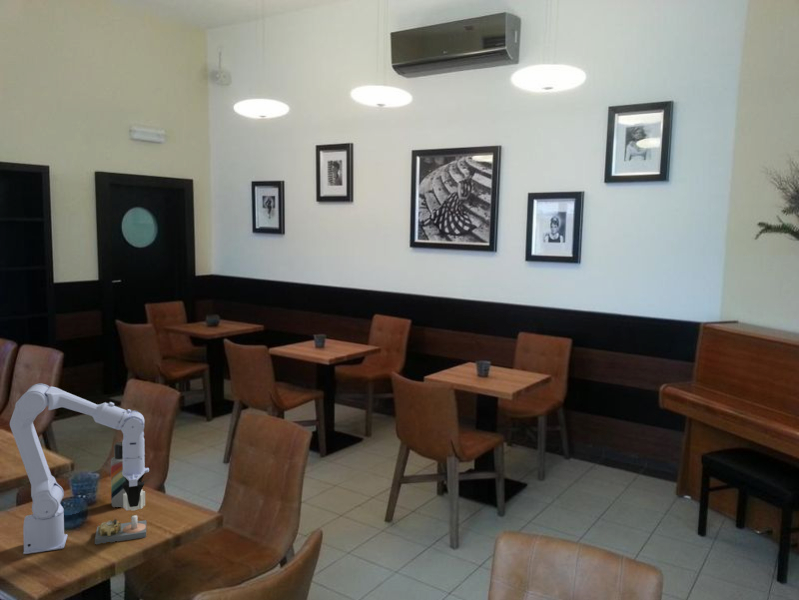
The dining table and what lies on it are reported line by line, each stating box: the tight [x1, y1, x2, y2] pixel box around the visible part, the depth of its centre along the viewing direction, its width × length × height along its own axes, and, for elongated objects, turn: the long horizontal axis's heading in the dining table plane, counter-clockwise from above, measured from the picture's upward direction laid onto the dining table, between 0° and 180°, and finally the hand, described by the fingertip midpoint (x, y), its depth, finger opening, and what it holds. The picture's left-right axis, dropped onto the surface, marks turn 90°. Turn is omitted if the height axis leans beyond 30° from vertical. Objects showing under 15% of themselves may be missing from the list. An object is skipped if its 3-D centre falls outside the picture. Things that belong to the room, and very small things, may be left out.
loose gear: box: [122, 488, 146, 512], centre depth 172 cm, size 6×6×4 cm
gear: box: [97, 518, 122, 536], centre depth 170 cm, size 6×6×3 cm
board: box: [94, 514, 147, 545], centre depth 171 cm, size 13×8×5 cm, turn 112°
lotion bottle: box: [110, 441, 126, 508], centre depth 191 cm, size 6×6×20 cm
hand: (134, 501), depth 172 cm, fingers closed on loose gear, 6 cm apart
